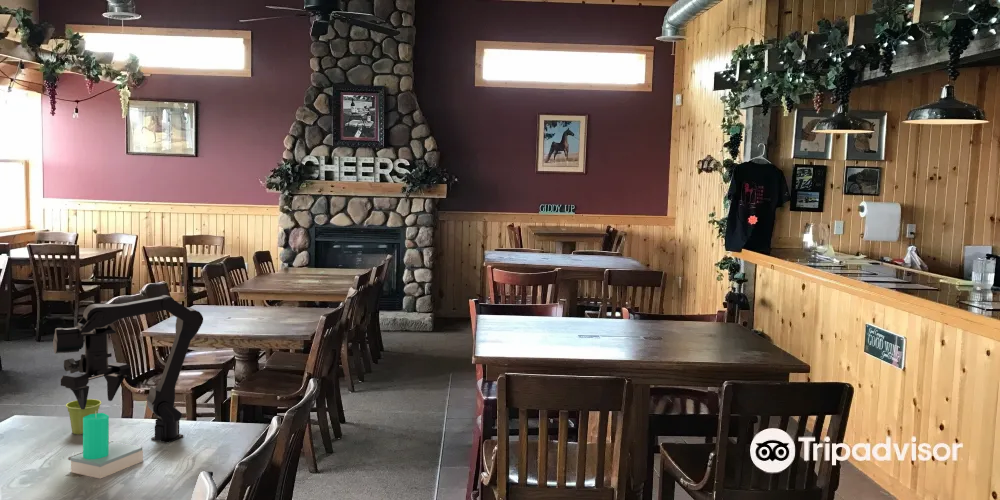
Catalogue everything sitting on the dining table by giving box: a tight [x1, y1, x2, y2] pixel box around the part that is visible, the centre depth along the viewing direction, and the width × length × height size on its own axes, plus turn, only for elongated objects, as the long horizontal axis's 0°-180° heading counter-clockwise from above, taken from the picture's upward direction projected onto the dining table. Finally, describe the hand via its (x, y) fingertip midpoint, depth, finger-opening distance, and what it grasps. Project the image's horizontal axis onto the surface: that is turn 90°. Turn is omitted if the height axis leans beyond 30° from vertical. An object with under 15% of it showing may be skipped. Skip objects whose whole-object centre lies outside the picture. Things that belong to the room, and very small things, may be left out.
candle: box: [82, 412, 110, 459], centre depth 202 cm, size 6×6×12 cm
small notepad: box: [70, 449, 144, 479], centre depth 205 cm, size 14×10×3 cm
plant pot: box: [65, 398, 102, 435], centre depth 231 cm, size 9×9×9 cm
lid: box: [67, 441, 143, 467], centre depth 205 cm, size 14×11×1 cm
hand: (96, 404), depth 216 cm, fingers open, 9 cm apart
